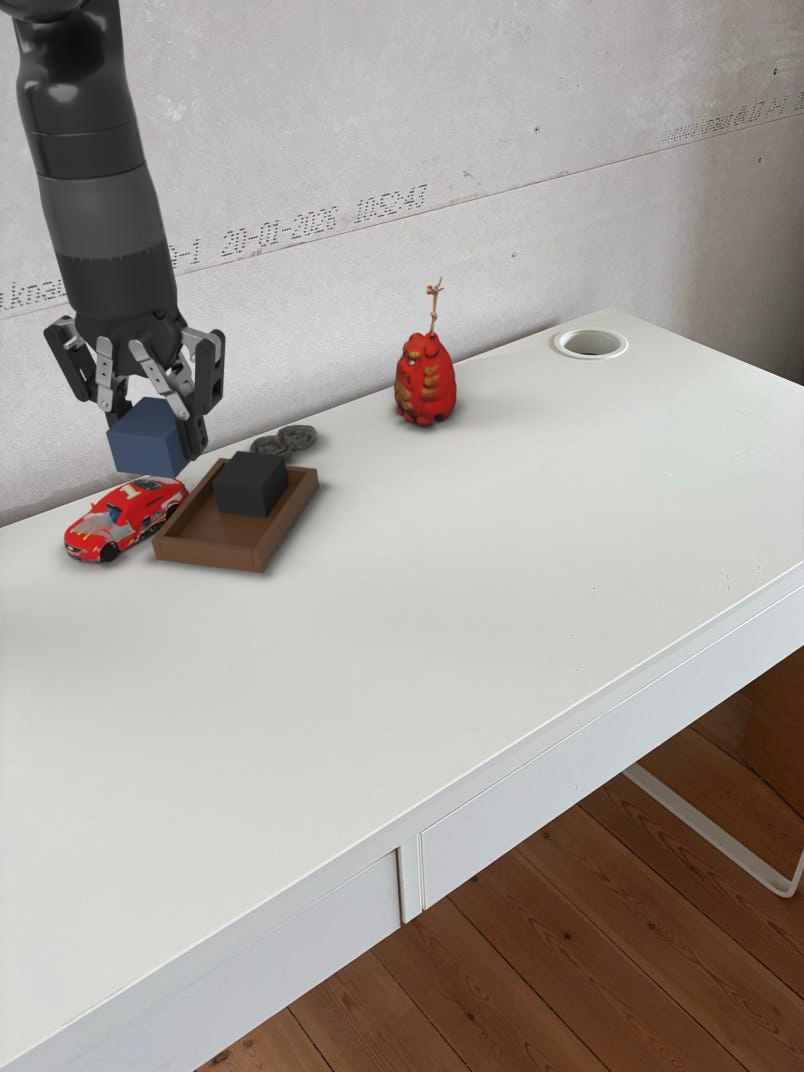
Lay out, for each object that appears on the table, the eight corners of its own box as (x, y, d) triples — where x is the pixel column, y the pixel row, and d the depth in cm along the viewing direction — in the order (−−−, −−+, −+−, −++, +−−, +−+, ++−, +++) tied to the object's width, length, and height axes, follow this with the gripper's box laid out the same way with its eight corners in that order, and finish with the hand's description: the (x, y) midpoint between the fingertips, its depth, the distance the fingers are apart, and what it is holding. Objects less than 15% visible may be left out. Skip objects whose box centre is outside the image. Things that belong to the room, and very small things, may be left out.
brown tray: (156, 559, 94) (151, 539, 93) (223, 475, 105) (219, 457, 104) (262, 573, 92) (259, 553, 91) (319, 487, 103) (317, 468, 102)
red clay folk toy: (384, 409, 116) (373, 279, 106) (436, 392, 119) (430, 265, 109) (418, 435, 111) (411, 302, 102) (472, 418, 114) (469, 286, 104)
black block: (218, 512, 99) (212, 481, 97) (243, 480, 103) (237, 450, 101) (266, 518, 98) (260, 487, 96) (288, 485, 103) (284, 455, 100)
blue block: (116, 472, 79) (105, 431, 77) (153, 434, 83) (143, 396, 81) (175, 479, 78) (165, 439, 76) (209, 441, 82) (200, 402, 80)
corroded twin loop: (328, 442, 110) (327, 434, 109) (269, 470, 106) (267, 461, 105) (299, 427, 113) (298, 418, 112) (240, 454, 108) (238, 445, 108)
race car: (91, 575, 92) (79, 539, 90) (55, 554, 95) (43, 518, 92) (202, 510, 100) (194, 475, 98) (166, 492, 103) (157, 458, 100)
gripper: (228, 223, 71) (265, 439, 82) (46, 210, 74) (106, 420, 85) (178, 261, 65) (225, 487, 76) (-16, 245, 68) (56, 466, 79)
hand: (162, 451), depth 81 cm, fingers closed on blue block, 5 cm apart
